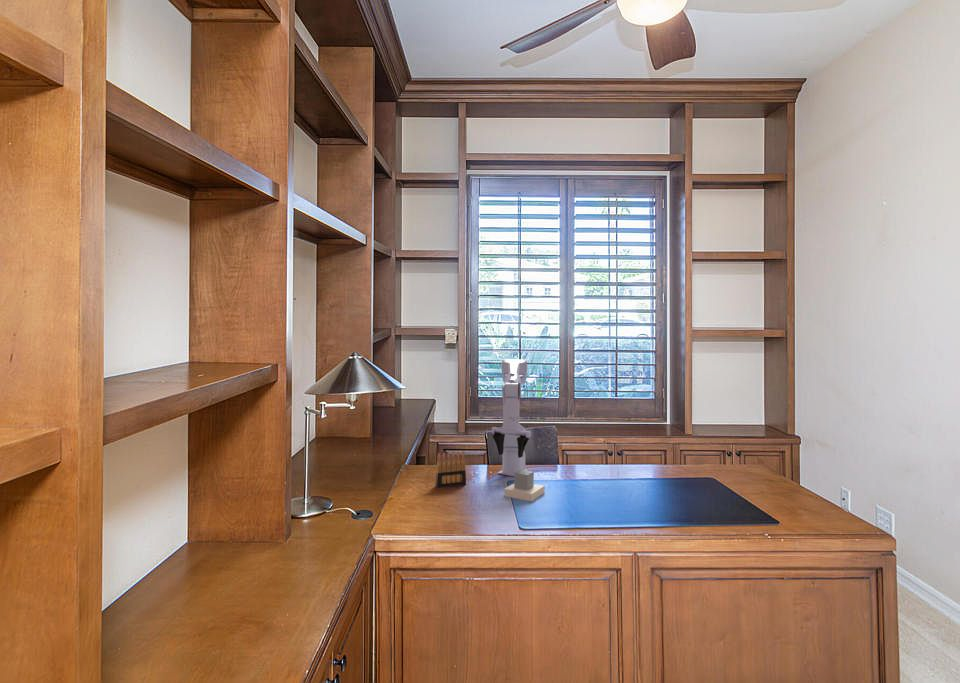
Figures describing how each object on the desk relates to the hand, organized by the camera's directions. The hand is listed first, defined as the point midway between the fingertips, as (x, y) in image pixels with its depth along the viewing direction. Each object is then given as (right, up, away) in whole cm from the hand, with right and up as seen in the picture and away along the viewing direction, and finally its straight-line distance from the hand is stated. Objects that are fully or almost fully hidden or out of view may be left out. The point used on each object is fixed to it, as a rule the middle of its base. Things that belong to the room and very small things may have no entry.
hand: (510, 455), depth 196 cm
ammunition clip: (-21, -11, -1) cm, 23 cm away
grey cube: (+4, -9, -10) cm, 14 cm away
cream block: (+4, -12, -10) cm, 16 cm away
